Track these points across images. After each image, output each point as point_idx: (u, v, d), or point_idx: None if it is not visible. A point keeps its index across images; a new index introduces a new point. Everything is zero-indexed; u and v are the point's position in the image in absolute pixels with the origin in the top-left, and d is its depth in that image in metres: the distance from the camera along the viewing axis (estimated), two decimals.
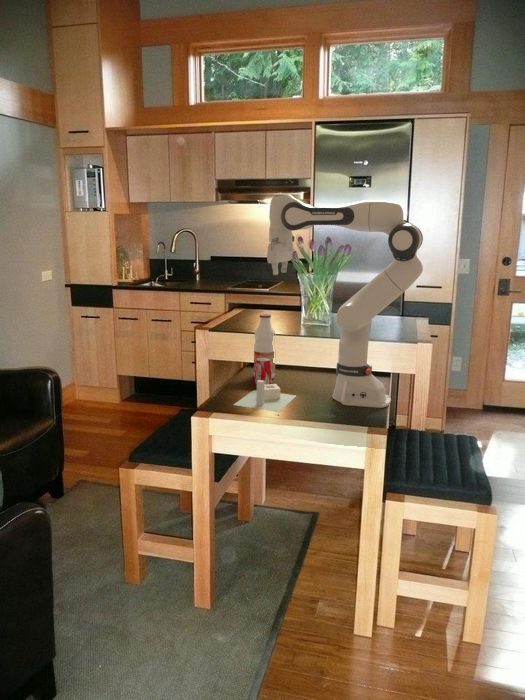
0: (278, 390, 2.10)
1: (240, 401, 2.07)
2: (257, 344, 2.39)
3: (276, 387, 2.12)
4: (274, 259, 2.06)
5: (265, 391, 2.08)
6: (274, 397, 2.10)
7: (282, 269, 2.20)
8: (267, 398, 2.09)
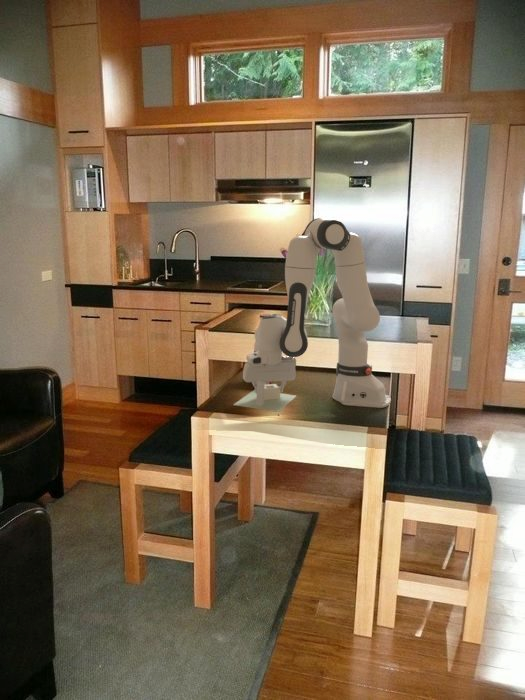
0: (278, 390, 2.10)
1: (240, 401, 2.07)
2: (257, 344, 2.39)
3: (276, 387, 2.12)
4: None
5: (265, 391, 2.08)
6: (274, 397, 2.10)
7: None
8: (267, 398, 2.09)
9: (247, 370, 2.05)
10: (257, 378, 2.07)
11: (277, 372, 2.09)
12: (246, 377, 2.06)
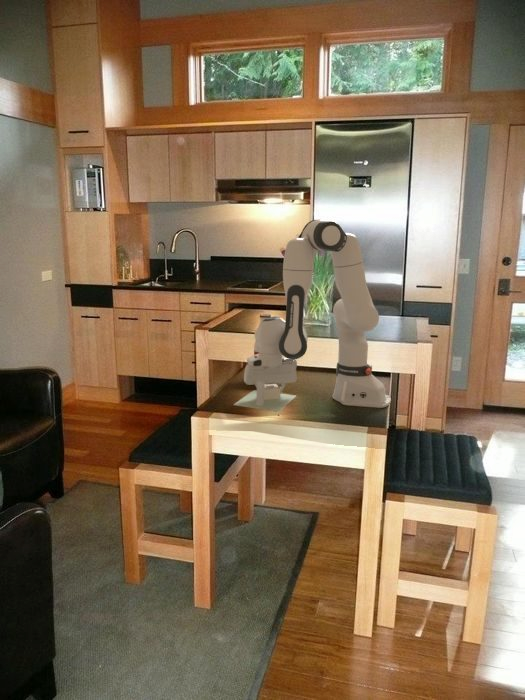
0: (278, 390, 2.10)
1: (240, 401, 2.07)
2: (257, 344, 2.39)
3: (276, 387, 2.12)
4: None
5: (265, 391, 2.08)
6: (274, 397, 2.10)
7: None
8: (267, 398, 2.09)
9: (248, 373, 2.06)
10: None
11: (278, 374, 2.10)
12: (247, 379, 2.07)
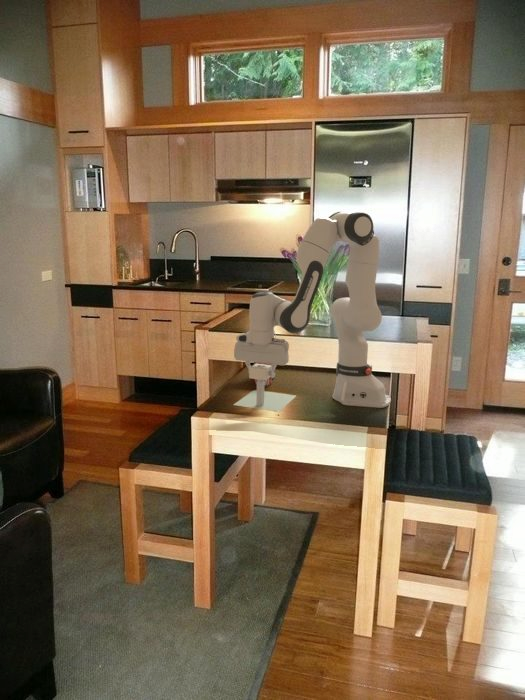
0: (264, 371, 1.97)
1: (240, 401, 2.07)
2: None
3: (266, 367, 1.99)
4: (288, 359, 1.97)
5: (250, 369, 1.99)
6: (259, 377, 1.98)
7: None
8: (252, 377, 1.99)
9: (235, 347, 2.00)
10: (246, 357, 2.00)
11: (266, 354, 1.97)
12: (235, 354, 2.01)
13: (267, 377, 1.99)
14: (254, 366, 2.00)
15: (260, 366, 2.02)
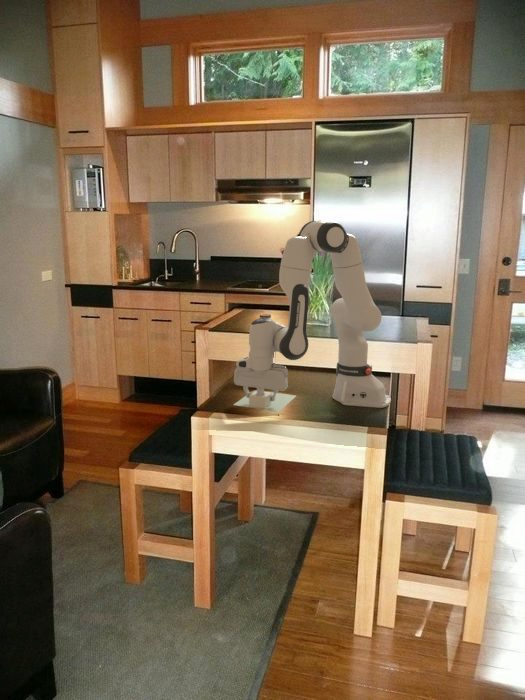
0: (263, 399, 1.99)
1: (240, 401, 2.07)
2: None
3: (265, 395, 2.01)
4: (287, 385, 1.99)
5: (250, 397, 2.01)
6: (259, 405, 2.00)
7: (250, 394, 2.04)
8: (252, 405, 2.01)
9: (235, 373, 2.02)
10: (245, 382, 2.02)
11: (265, 379, 1.99)
12: (234, 379, 2.03)
13: (267, 405, 2.01)
14: (254, 394, 2.03)
15: None
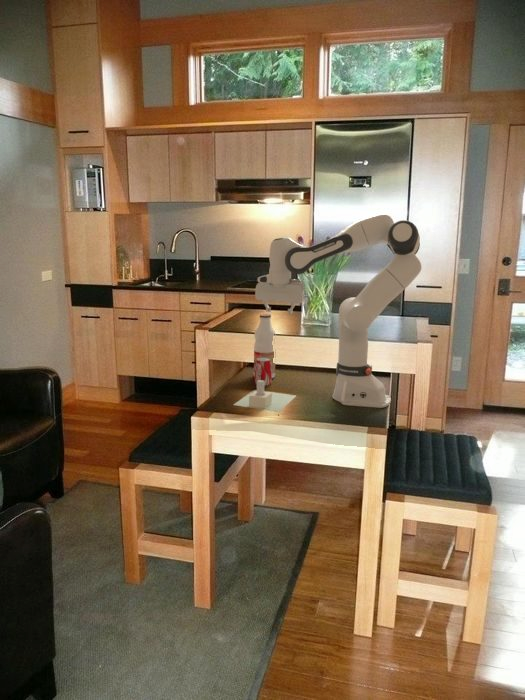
0: (263, 399, 1.99)
1: (240, 401, 2.07)
2: (257, 344, 2.39)
3: (265, 395, 2.01)
4: None
5: (250, 397, 2.01)
6: (259, 405, 2.00)
7: (269, 308, 2.26)
8: (252, 405, 2.01)
9: (256, 288, 2.24)
10: (266, 297, 2.24)
11: (284, 293, 2.21)
12: (256, 295, 2.25)
13: (267, 405, 2.01)
14: (254, 394, 2.03)
15: None
